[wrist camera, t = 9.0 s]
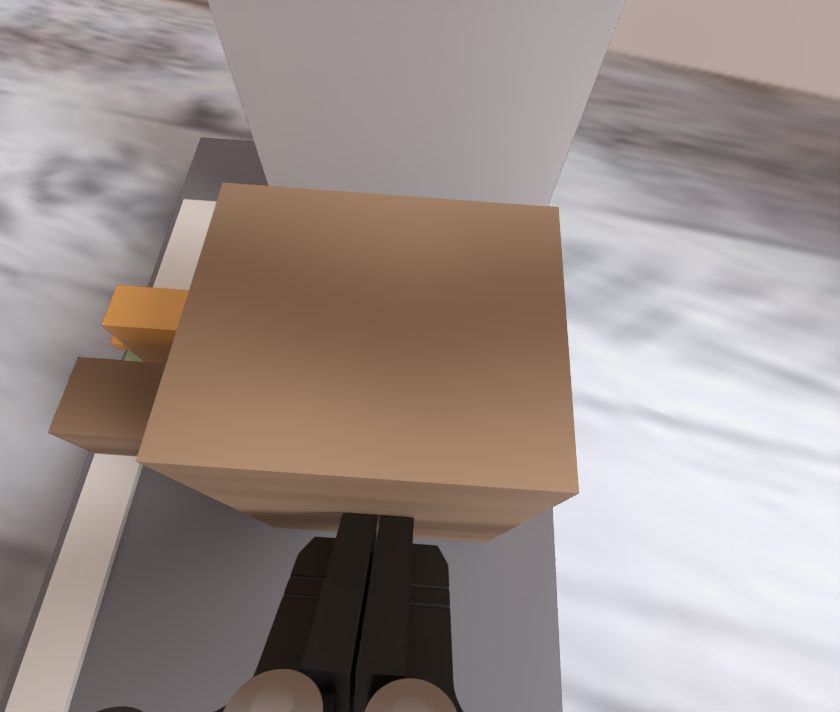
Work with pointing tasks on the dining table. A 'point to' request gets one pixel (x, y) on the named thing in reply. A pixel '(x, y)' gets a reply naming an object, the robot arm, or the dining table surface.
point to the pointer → (144, 320)
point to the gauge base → (212, 165)
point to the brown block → (356, 366)
